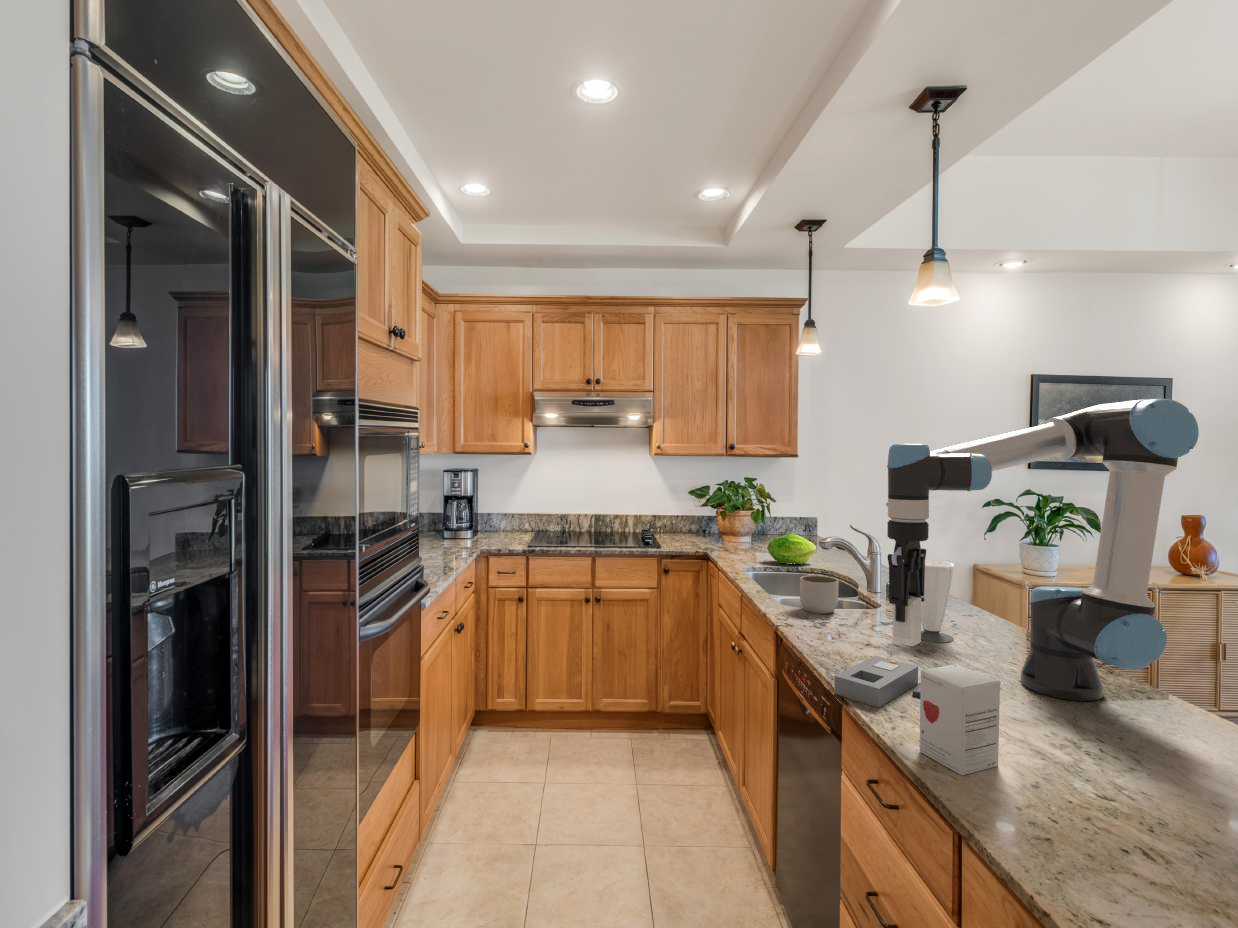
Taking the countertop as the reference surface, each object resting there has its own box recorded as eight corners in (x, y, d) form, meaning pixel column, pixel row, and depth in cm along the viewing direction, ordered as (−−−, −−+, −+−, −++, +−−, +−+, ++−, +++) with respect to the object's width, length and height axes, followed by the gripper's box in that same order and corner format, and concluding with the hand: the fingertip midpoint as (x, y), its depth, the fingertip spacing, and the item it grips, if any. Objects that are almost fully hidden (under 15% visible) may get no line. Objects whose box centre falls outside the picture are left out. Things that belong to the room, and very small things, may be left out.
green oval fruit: (812, 559, 301) (818, 569, 285) (765, 558, 303) (769, 568, 288) (813, 530, 298) (819, 539, 283) (765, 529, 301) (769, 538, 285)
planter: (812, 604, 215) (813, 573, 215) (845, 611, 205) (845, 579, 205) (792, 610, 207) (792, 578, 207) (824, 618, 197) (825, 584, 197)
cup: (960, 643, 171) (961, 567, 170) (916, 641, 173) (917, 565, 172) (945, 631, 182) (946, 559, 182) (904, 630, 184) (905, 558, 183)
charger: (920, 641, 124) (921, 597, 124) (912, 646, 121) (913, 600, 121) (900, 637, 127) (901, 593, 127) (892, 641, 124) (892, 596, 124)
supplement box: (917, 751, 109) (918, 668, 109) (954, 743, 112) (955, 662, 112) (961, 776, 101) (962, 686, 100) (1000, 767, 104) (1001, 679, 104)
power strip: (917, 683, 141) (918, 665, 141) (878, 707, 128) (879, 687, 128) (875, 671, 149) (875, 654, 149) (834, 693, 135) (834, 674, 135)
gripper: (906, 515, 132) (905, 622, 132) (870, 521, 120) (869, 639, 121) (943, 518, 126) (942, 630, 127) (909, 524, 115) (908, 648, 115)
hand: (906, 634), depth 124 cm, fingers closed on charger, 4 cm apart
